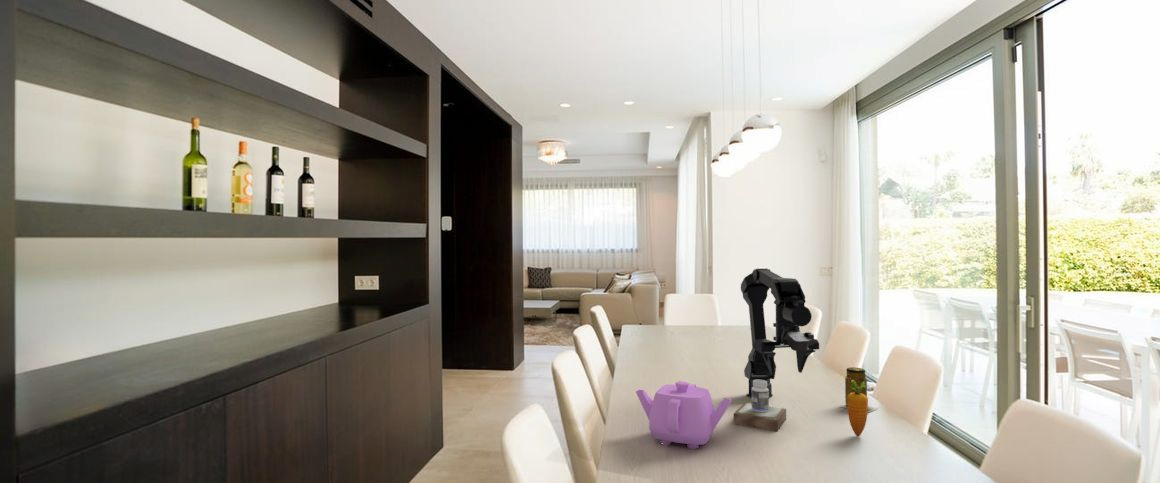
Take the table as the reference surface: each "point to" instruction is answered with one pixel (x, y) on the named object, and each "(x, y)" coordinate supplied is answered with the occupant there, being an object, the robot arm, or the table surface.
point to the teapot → (682, 414)
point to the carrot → (857, 408)
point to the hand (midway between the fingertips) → (786, 373)
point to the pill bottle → (760, 396)
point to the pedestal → (760, 417)
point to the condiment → (858, 377)
